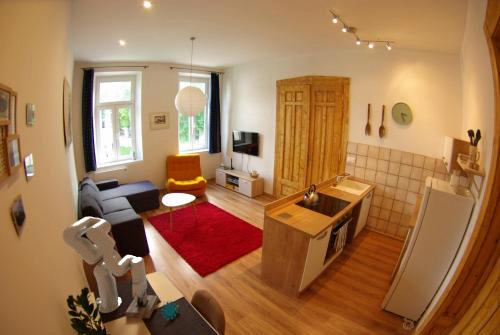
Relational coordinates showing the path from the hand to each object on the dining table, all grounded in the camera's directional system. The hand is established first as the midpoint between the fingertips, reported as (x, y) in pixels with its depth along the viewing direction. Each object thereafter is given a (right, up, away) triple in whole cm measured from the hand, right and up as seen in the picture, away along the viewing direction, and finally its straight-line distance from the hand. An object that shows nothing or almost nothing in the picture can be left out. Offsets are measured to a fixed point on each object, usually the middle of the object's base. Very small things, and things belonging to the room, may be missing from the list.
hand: (142, 302), depth 157 cm
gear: (+19, -6, -3) cm, 20 cm away
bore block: (0, -5, +1) cm, 5 cm away
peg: (0, -2, 0) cm, 2 cm away
